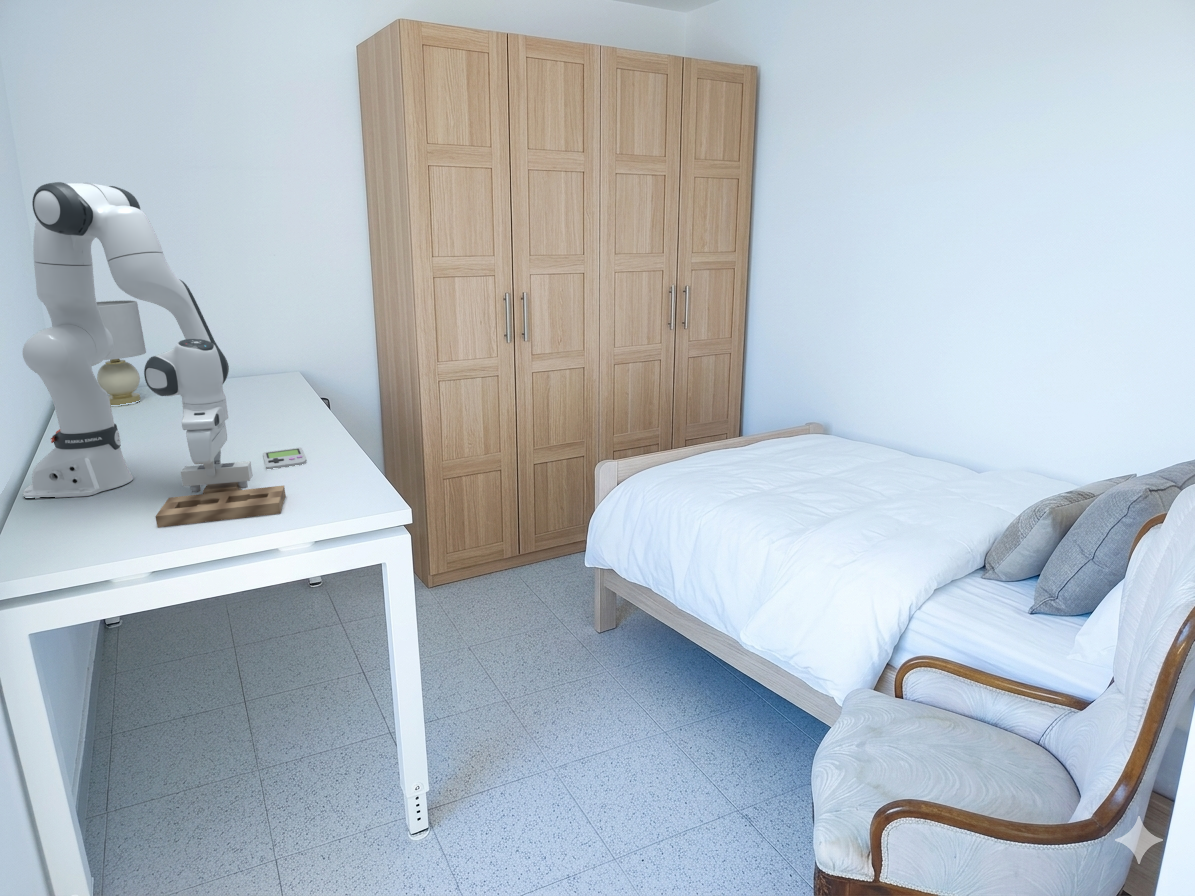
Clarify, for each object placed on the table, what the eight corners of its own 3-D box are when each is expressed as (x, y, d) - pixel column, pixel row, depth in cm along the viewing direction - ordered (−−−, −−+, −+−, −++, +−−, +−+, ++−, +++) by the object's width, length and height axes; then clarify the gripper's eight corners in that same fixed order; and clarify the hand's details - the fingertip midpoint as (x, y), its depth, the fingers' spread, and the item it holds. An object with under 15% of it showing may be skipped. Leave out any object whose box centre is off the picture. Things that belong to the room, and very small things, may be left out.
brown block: (204, 501, 178) (202, 491, 178) (209, 493, 184) (207, 483, 183) (237, 498, 180) (236, 487, 180) (241, 489, 186) (240, 479, 185)
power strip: (184, 494, 178) (180, 471, 176) (188, 489, 182) (184, 465, 180) (251, 488, 181) (247, 465, 180) (253, 483, 185) (250, 460, 183)
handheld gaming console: (265, 466, 200) (262, 451, 213) (266, 471, 201) (263, 456, 214) (307, 460, 204) (301, 446, 217) (308, 466, 205) (302, 451, 218)
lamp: (77, 408, 276) (54, 306, 266) (125, 395, 294) (106, 300, 284) (122, 410, 270) (101, 306, 260) (168, 398, 288) (150, 300, 278)
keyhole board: (157, 527, 164) (155, 516, 163) (170, 508, 175) (168, 497, 174) (280, 513, 170) (278, 502, 169) (285, 495, 181) (284, 485, 180)
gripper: (200, 403, 185) (208, 459, 189) (179, 424, 166) (188, 486, 170) (229, 401, 187) (237, 457, 190) (211, 422, 168) (220, 484, 171)
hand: (214, 471), depth 180 cm, fingers closed on power strip, 4 cm apart
